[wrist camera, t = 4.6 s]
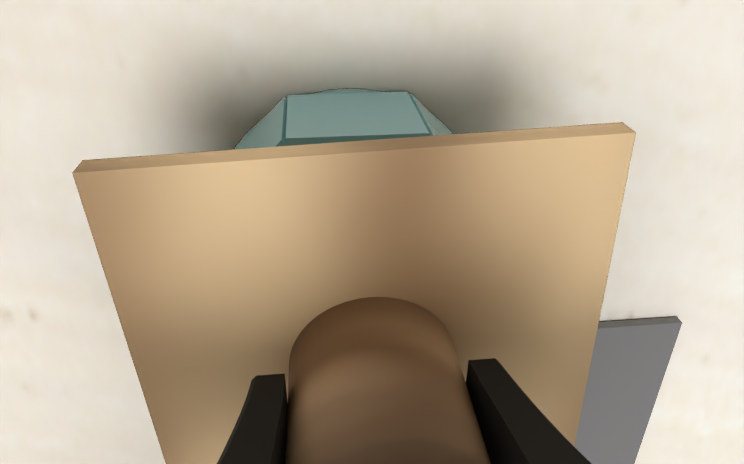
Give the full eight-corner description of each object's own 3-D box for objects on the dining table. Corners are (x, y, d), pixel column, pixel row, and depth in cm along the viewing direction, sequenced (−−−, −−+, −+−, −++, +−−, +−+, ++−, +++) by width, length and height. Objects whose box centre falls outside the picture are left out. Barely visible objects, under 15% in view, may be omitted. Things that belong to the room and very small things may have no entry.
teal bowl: (232, 326, 22) (220, 406, 19) (197, 92, 18) (173, 142, 14) (465, 311, 23) (494, 385, 20) (489, 84, 19) (532, 129, 15)
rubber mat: (365, 536, 30) (366, 544, 30) (364, 337, 23) (365, 344, 23) (611, 512, 31) (615, 519, 31) (676, 316, 25) (682, 322, 24)
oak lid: (190, 508, 17) (154, 693, 13) (82, 160, 12) (-34, 299, 8) (558, 469, 18) (629, 635, 14) (622, 122, 12) (769, 232, 8)
